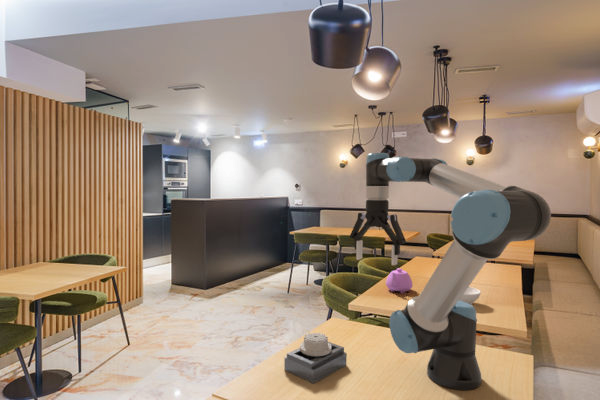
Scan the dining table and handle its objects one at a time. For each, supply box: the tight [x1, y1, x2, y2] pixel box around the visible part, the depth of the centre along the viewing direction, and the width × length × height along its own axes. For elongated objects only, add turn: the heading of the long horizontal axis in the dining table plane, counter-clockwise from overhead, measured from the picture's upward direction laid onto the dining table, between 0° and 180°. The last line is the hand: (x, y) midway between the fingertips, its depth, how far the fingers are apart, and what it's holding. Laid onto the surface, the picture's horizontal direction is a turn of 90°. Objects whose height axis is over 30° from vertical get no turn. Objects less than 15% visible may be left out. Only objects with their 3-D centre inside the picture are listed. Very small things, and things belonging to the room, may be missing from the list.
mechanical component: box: [299, 332, 332, 356], centre depth 122 cm, size 10×4×10 cm
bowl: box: [459, 286, 482, 305], centre depth 189 cm, size 16×16×7 cm
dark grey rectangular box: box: [283, 341, 347, 385], centre depth 123 cm, size 12×19×6 cm, turn 137°
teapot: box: [385, 267, 413, 294], centre depth 211 cm, size 20×14×12 cm
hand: (376, 261), depth 131 cm, fingers open, 13 cm apart
